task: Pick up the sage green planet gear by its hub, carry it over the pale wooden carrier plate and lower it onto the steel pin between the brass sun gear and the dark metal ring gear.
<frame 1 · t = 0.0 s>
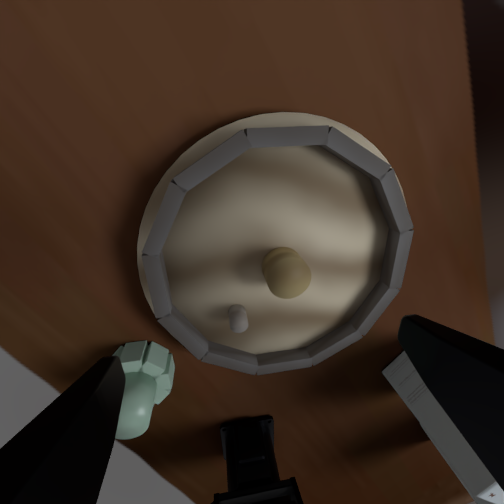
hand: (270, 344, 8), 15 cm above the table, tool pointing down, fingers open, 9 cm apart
skincare box: (446, 417, 39), on the table
planet gear: (142, 364, 26), on the table
carrier plate: (278, 261, 24), on the table
supplement box: (417, 360, 32), on the table
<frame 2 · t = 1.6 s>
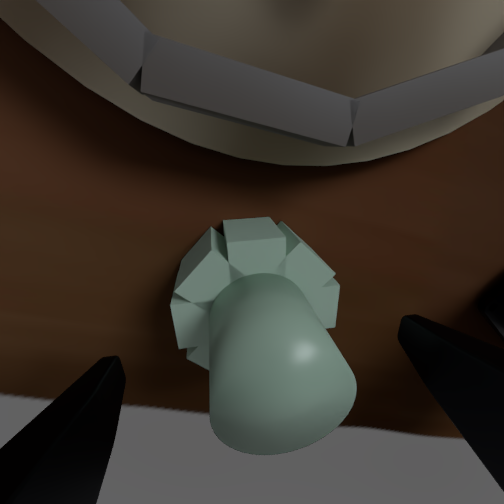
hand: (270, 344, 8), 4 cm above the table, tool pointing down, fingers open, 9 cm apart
planet gear: (249, 282, 12), on the table
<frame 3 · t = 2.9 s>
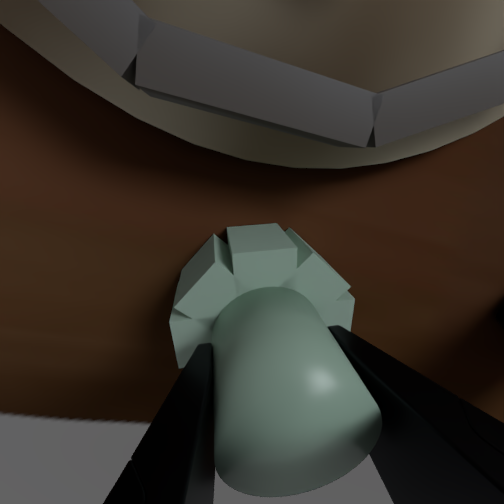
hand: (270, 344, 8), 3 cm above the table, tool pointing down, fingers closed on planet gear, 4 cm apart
planet gear: (254, 293, 11), on the table, touching gripper
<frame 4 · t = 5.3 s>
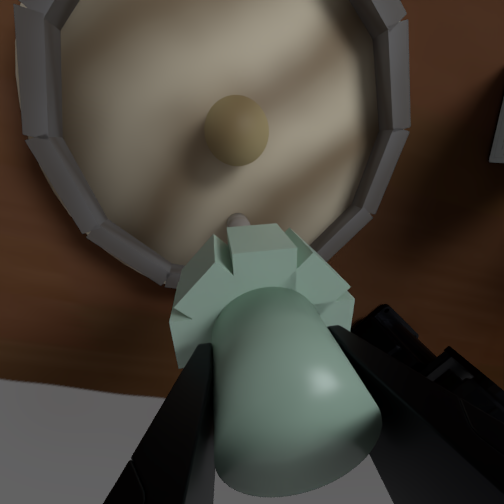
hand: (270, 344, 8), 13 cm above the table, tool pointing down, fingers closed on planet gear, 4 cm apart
planet gear: (254, 293, 11), point 10 cm above the table, touching gripper
carrier plate: (232, 134, 17), on the table
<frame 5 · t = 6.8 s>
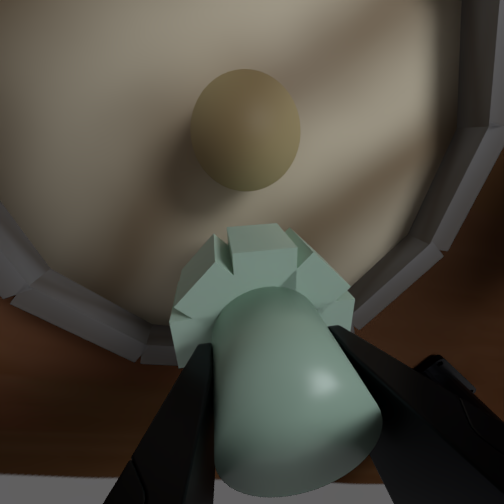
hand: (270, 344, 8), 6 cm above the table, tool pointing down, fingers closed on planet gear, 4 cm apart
planet gear: (254, 293, 11), point 3 cm above the table, touching gripper
carrier plate: (236, 137, 12), on the table
when the fingers open (5 cm above the table, at t = 7.8 s): planet gear drops 1 cm, resting on carrier plate.
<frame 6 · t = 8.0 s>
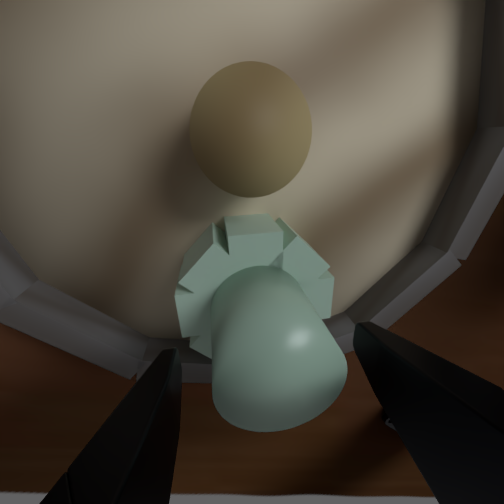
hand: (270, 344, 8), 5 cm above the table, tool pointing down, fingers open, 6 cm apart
planet gear: (249, 276, 12), point 1 cm above the table, touching carrier plate
carrier plate: (239, 137, 11), on the table
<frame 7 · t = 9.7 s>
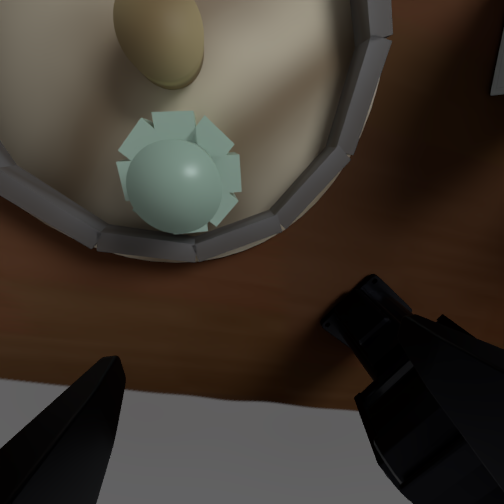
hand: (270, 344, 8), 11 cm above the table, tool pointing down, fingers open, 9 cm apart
planet gear: (185, 172, 15), point 1 cm above the table, touching carrier plate
carrier plate: (170, 54, 14), on the table
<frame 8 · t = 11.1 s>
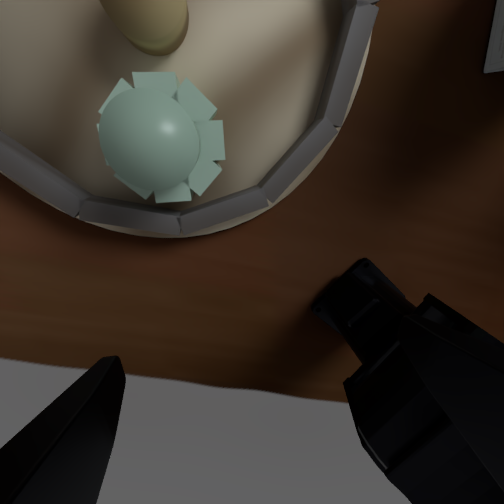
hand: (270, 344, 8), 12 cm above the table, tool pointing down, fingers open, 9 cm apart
planet gear: (171, 142, 15), point 1 cm above the table, touching carrier plate
carrier plate: (155, 21, 14), on the table
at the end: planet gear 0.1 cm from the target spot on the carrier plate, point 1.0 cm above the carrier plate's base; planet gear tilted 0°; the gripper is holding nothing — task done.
